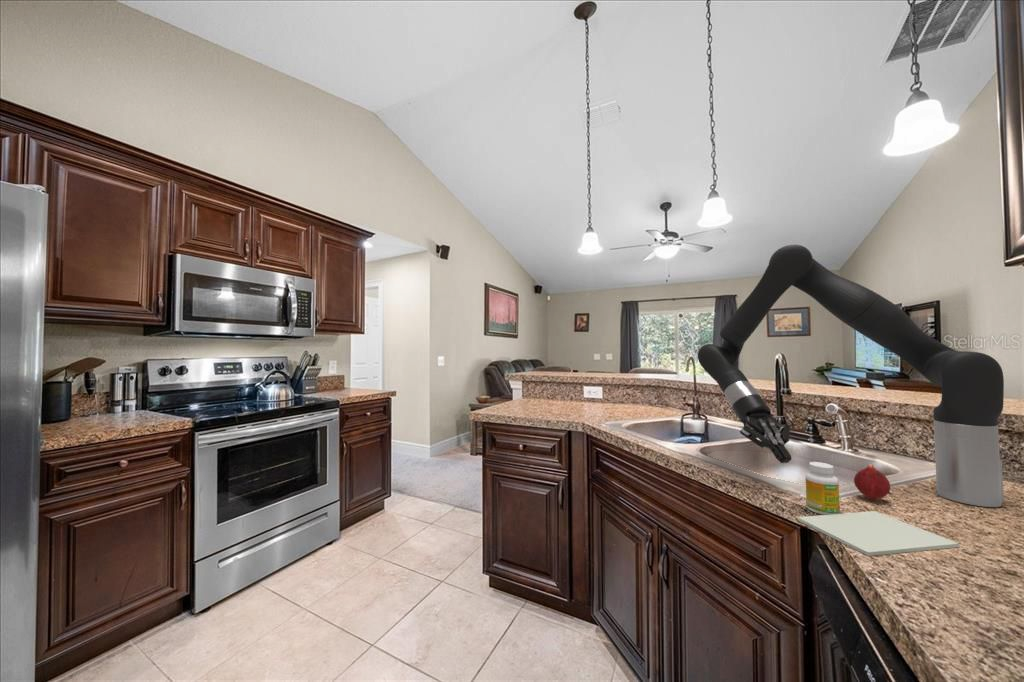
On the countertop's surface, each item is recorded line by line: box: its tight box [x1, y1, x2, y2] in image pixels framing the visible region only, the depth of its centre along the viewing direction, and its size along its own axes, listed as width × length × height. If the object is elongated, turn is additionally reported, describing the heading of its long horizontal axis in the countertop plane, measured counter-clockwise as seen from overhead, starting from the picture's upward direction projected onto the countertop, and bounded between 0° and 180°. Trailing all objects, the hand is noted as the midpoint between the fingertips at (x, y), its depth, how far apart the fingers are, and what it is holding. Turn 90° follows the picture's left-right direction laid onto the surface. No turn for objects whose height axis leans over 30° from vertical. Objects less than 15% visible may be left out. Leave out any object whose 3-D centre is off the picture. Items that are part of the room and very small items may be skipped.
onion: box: [853, 463, 891, 501], centre depth 83 cm, size 6×6×8 cm
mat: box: [797, 510, 960, 557], centre depth 69 cm, size 18×13×1 cm
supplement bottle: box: [805, 461, 841, 515], centre depth 78 cm, size 5×5×10 cm
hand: (786, 461), depth 86 cm, fingers closed
